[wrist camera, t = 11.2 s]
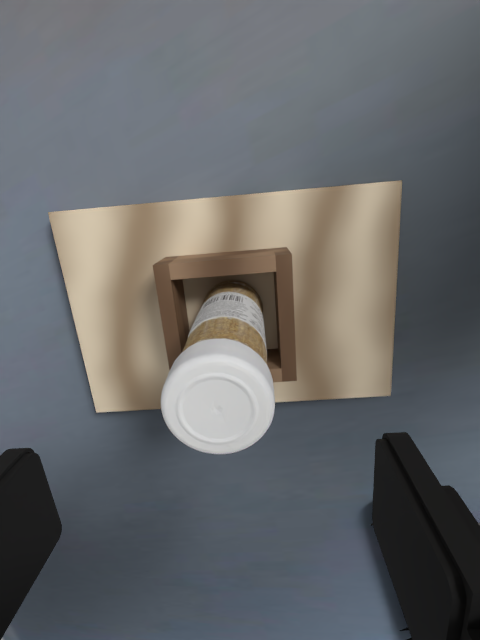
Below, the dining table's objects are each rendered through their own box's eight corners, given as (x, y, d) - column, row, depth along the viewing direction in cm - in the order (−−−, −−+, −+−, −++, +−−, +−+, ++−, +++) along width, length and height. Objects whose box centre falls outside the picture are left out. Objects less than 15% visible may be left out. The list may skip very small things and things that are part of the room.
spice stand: (393, 181, 25) (427, 176, 20) (384, 386, 30) (409, 421, 25) (59, 211, 26) (16, 213, 21) (103, 402, 31) (76, 439, 26)
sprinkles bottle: (200, 333, 27) (154, 452, 14) (205, 274, 26) (160, 349, 13) (259, 340, 27) (266, 466, 14) (268, 282, 26) (284, 365, 13)
